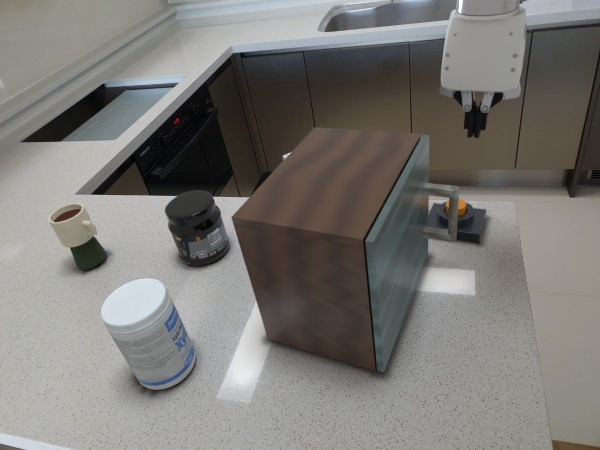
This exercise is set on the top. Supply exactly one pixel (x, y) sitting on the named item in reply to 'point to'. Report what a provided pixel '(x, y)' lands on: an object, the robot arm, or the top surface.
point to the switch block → (459, 221)
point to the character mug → (77, 234)
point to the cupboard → (321, 239)
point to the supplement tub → (149, 333)
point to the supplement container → (197, 227)
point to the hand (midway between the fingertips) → (474, 133)
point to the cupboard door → (403, 247)
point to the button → (460, 207)
